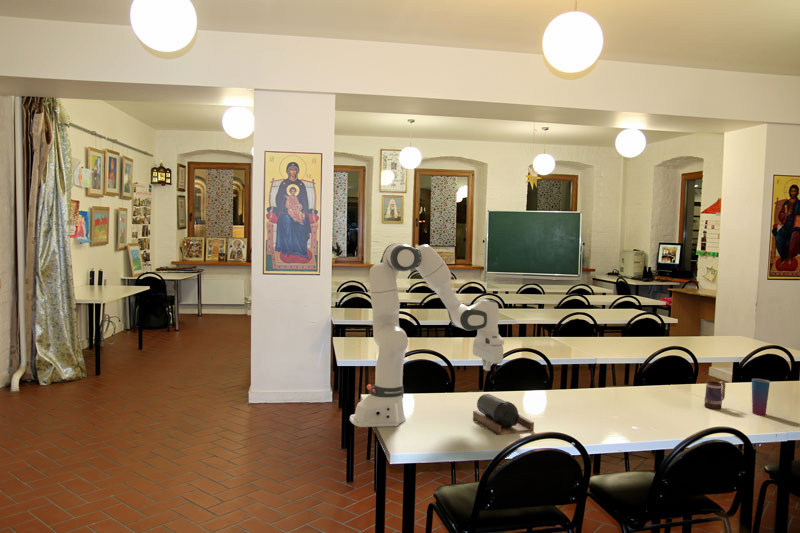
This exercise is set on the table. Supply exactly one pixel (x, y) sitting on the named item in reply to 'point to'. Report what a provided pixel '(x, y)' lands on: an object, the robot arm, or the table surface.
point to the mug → (714, 394)
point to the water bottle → (498, 410)
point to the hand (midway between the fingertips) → (486, 370)
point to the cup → (759, 396)
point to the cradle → (520, 427)
